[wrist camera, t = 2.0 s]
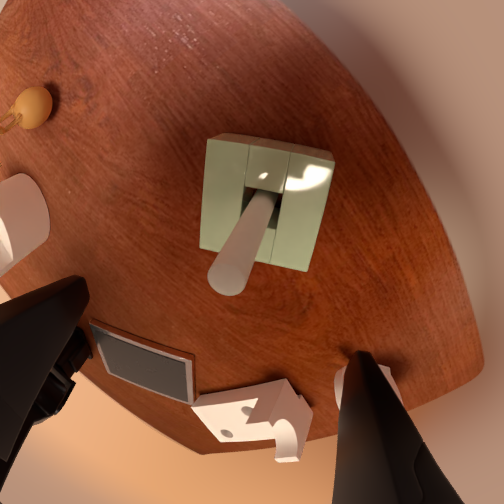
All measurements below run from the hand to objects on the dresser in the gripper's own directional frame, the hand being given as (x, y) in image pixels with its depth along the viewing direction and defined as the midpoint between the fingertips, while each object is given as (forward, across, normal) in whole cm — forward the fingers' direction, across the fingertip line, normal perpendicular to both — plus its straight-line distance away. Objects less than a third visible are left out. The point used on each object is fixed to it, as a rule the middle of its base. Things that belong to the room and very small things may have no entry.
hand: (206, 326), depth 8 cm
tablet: (+13, +12, +25) cm, 31 cm away
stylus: (+13, 0, 0) cm, 13 cm away
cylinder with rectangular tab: (+13, +27, +6) cm, 31 cm away
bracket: (+13, -2, +26) cm, 29 cm away
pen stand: (+13, 0, 0) cm, 13 cm away
